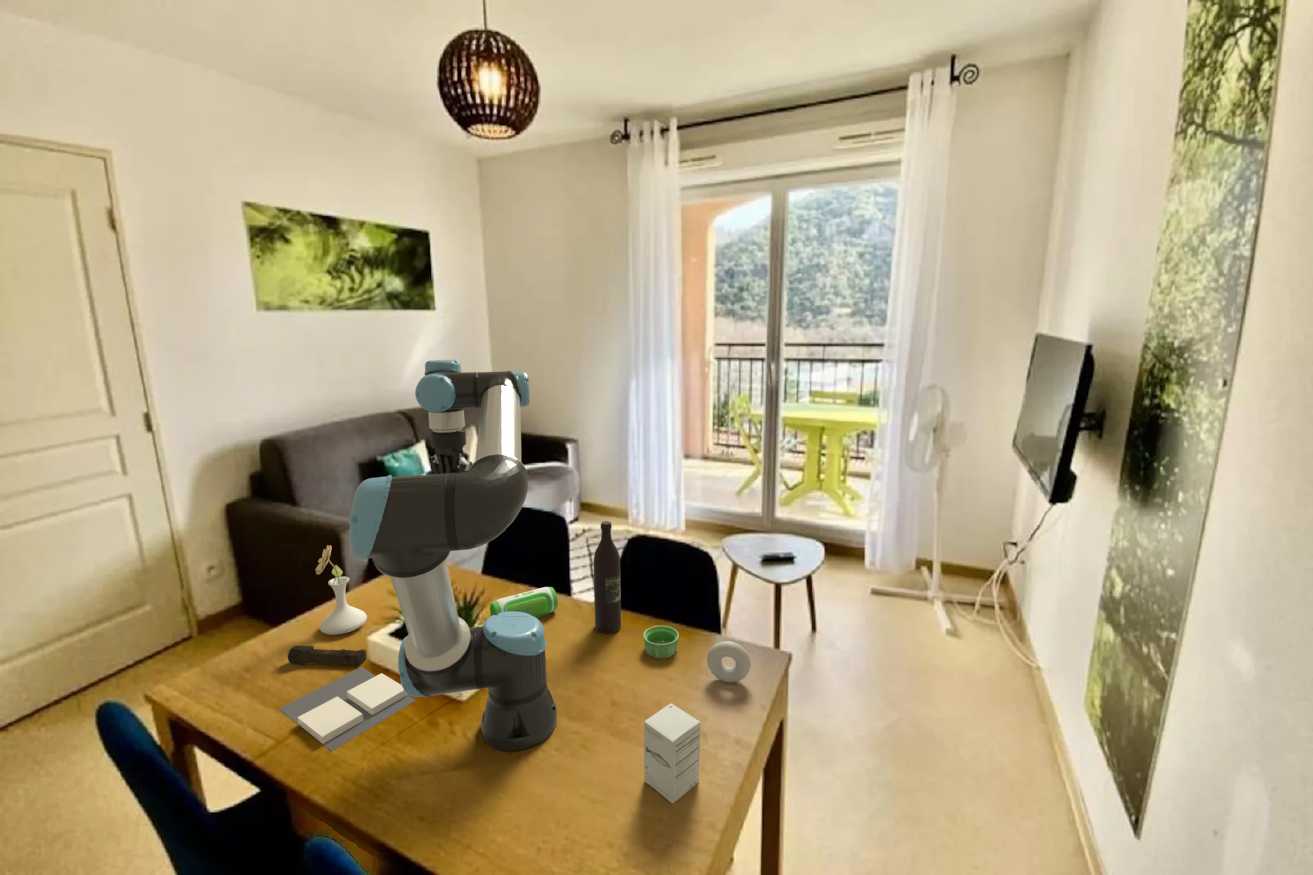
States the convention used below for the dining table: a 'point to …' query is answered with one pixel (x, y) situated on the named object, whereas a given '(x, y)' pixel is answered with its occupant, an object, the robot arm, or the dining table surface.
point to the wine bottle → (607, 583)
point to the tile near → (330, 719)
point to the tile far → (376, 693)
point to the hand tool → (325, 656)
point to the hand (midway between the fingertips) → (455, 528)
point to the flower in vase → (339, 603)
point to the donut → (734, 652)
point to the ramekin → (660, 641)
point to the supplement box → (671, 752)
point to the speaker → (528, 602)
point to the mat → (340, 690)
